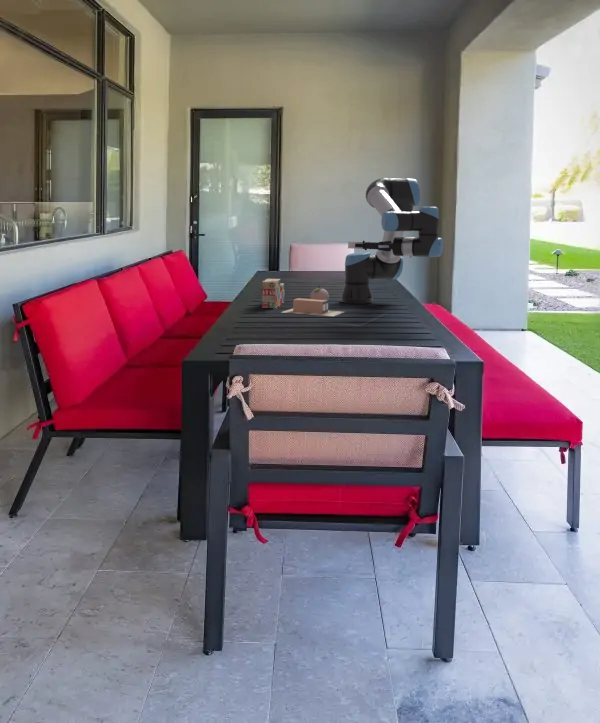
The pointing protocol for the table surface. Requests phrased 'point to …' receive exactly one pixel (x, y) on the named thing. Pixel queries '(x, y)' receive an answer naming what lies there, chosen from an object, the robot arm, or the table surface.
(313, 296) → the decorative fruit
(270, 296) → the stack of blocks
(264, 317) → the table surface
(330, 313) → the board
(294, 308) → the block
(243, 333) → the table surface
